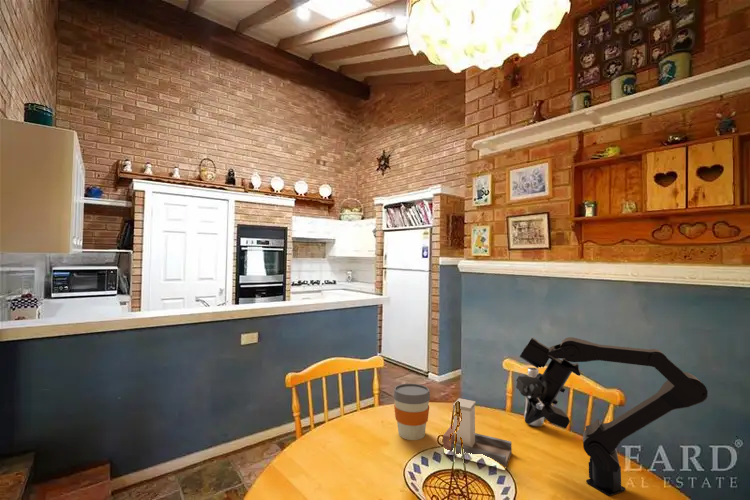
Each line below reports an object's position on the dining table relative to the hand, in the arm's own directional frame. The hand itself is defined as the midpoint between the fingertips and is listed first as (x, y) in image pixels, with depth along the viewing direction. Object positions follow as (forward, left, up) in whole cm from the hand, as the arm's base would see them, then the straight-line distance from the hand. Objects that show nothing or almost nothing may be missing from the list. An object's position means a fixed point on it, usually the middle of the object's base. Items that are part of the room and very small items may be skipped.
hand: (526, 422), depth 103 cm
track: (+11, +9, -12) cm, 19 cm away
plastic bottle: (+20, -24, -12) cm, 33 cm away
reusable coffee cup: (+30, +21, -12) cm, 39 cm away
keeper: (+14, +11, -11) cm, 21 cm away
